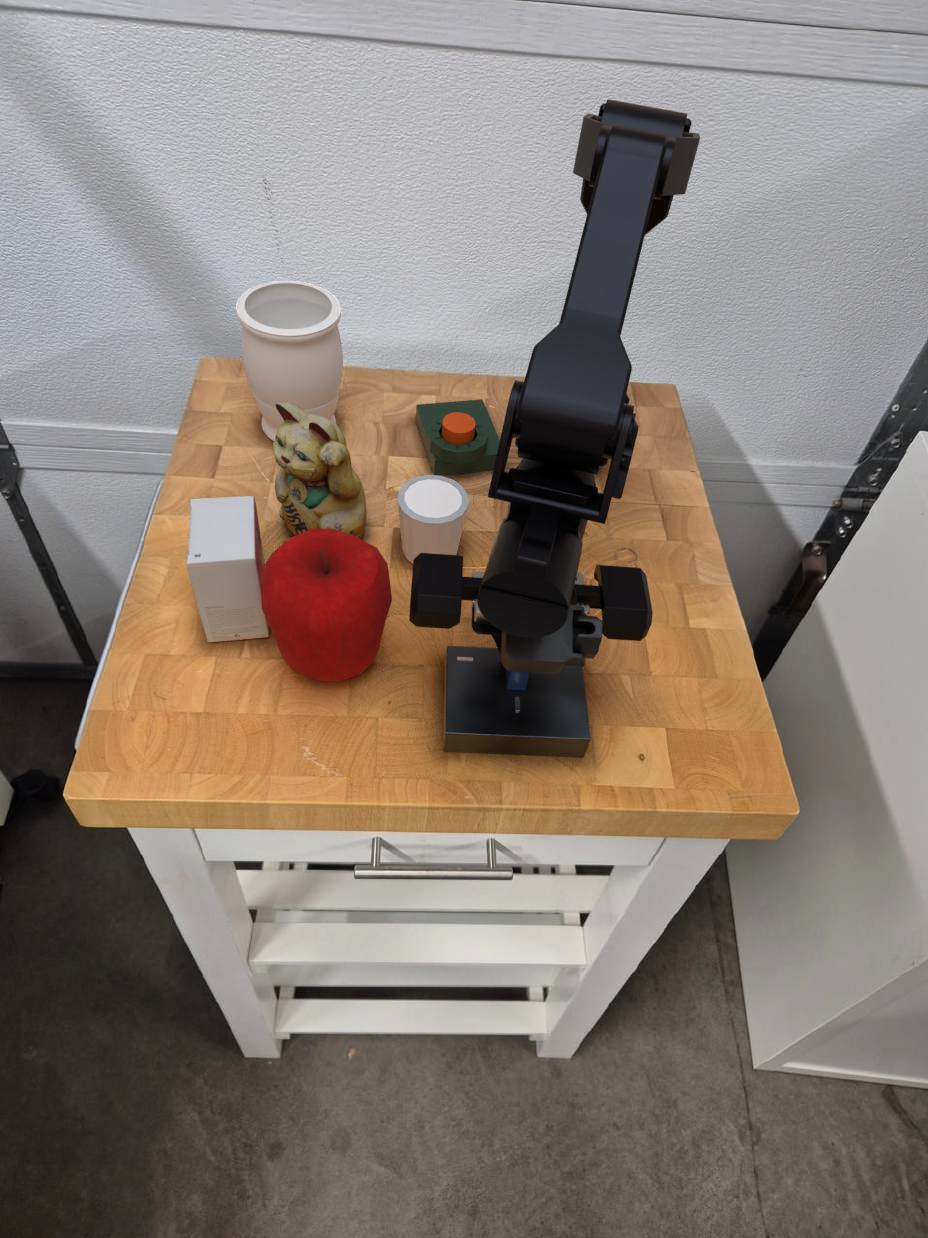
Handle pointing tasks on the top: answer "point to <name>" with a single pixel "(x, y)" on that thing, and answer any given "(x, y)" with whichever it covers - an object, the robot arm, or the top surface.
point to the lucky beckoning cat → (316, 475)
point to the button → (458, 428)
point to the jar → (291, 349)
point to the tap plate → (512, 708)
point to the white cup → (431, 515)
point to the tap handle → (517, 680)
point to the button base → (453, 456)
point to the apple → (326, 602)
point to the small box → (227, 567)
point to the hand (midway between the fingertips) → (515, 658)
